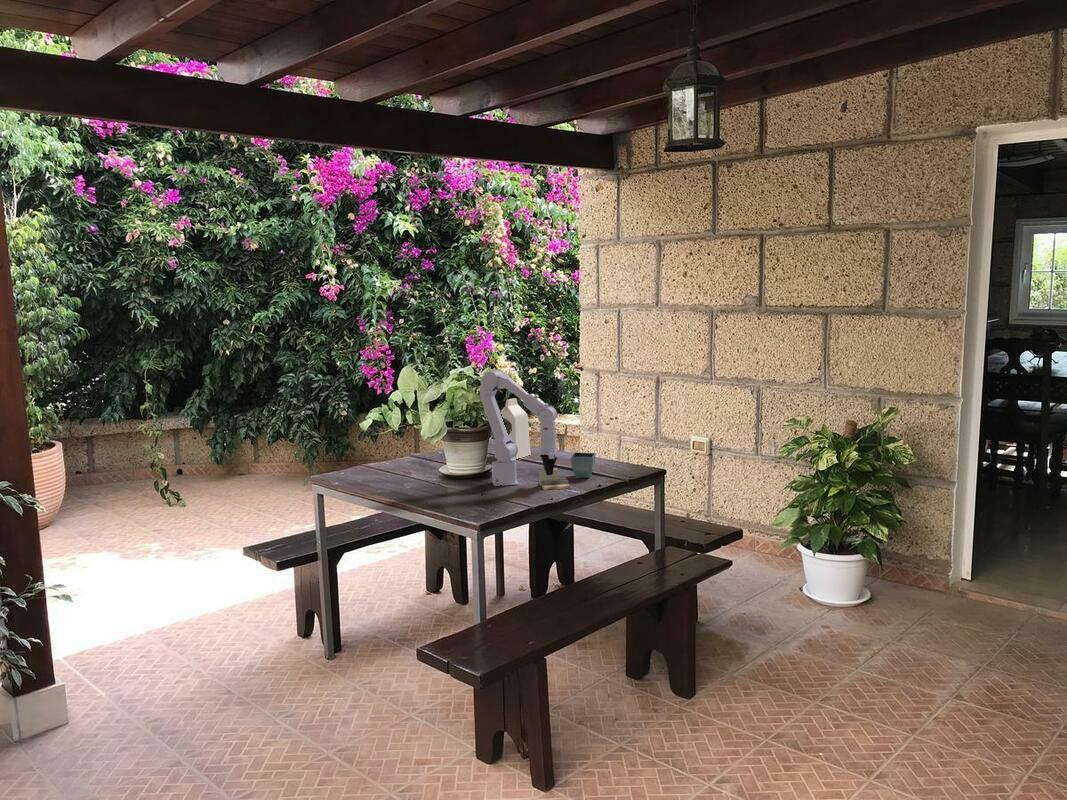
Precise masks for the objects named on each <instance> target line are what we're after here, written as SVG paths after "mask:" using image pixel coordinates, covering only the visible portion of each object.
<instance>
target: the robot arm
mask: <svg viewBox="0 0 1067 800" xmlns="http://www.w3.org/2000/svg"><path fill="white" fill-rule="evenodd" d="M479 381H480V390H479V398H480V401H481V404H482V407H483V409H484V412H485V415H486V418H487V421H488V423H489V426H490V429H491V433H492V434H493V437H494V442H493V447H494V458H495V457H496V458H495V459H496V461H495V460H494V461H492V462H491V482H492V484H493V486H494V487H499V486H500V485H502V486H517V485H519V484H520V483H519V481H518V480H517V460H516V458H515V456H516V455H517V453H518V447H517V445H516V444H515V443H514V442H513V440H512V438H511V437H510V436H509V435H508V433H507V430H506V427H505V425H504V422H503V419H502V416H501V413H500V411H501V410H500V408H499V405H498V402H497V400H496V394H497V392H498V390H499V389H506V390H508V391H509V392H510V393H512V394H514V395H515V396H516V397H517V398H519V399H520V400H522V401H523V406H524V407H525V408H526V409H528V411H530V412H531V413H532V414H534V415H535V416H537V419H538V421H539V423H540V427H539V429H540V451H539V452H540V455H539V457H540V458H541V461H542V464H543V470H545V469H546V474H547V475H552V474H553V469H555V465H556V462H557V460H558V457H557V456H556V453H559V452H560V450H559V449H558V448H557V442H556V440H557V439H556V438H557V435H556V429H557V428H556V419H557V417H558V412H557V410H556V408H555V407H554V406H553V405H549V403H548V402H546V403H545V401H543V400H542V399H541V398H539V397H540V396H539V394H538V393H537V394H534V393H528V392H527V391H526V390H525V389H524V388H523V387H521V385H519V384H518V383H517V382H516V381H515V380H514V379H513V378H511V376H510V375H509V374H507V373H505V372H504V371H503V370H501V369H497V368H496V369H494V370H489V371H486V372H484V374H483V375H482V376H481V378H480V380H479Z"/></svg>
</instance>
